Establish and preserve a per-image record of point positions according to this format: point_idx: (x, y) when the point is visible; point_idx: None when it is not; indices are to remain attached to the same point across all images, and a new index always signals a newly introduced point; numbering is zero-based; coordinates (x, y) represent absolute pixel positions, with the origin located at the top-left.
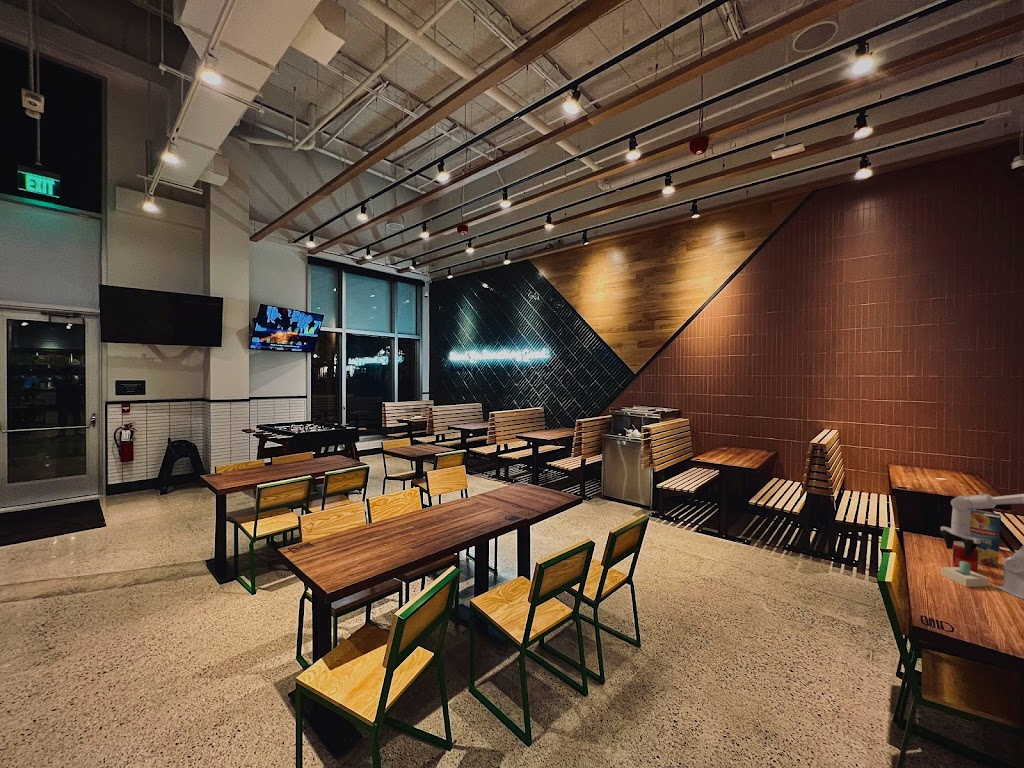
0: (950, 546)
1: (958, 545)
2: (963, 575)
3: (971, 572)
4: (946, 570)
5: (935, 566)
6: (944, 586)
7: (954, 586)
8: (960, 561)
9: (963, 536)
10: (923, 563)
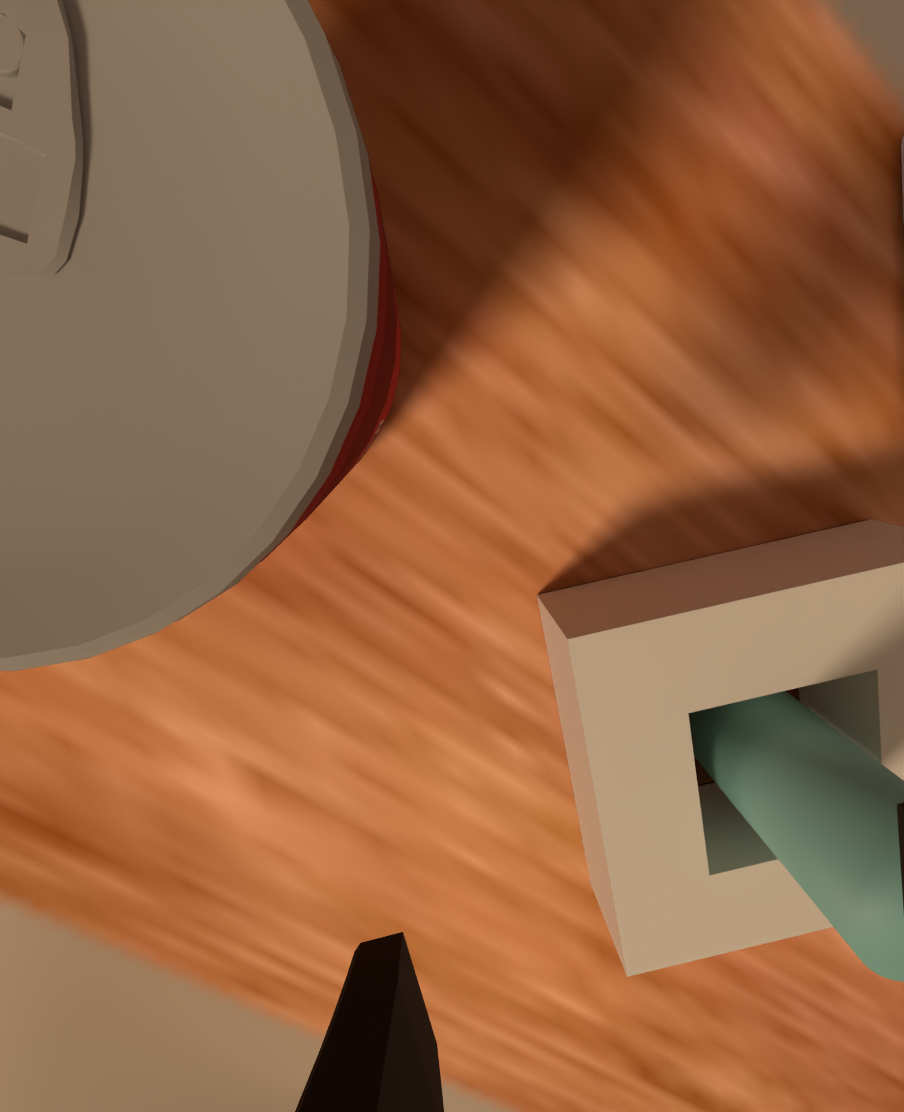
0: (418, 1072)
1: (116, 640)
2: None
3: (774, 659)
4: (694, 949)
5: (304, 783)
6: (878, 1023)
7: None
8: (866, 956)
9: None
10: (229, 879)
